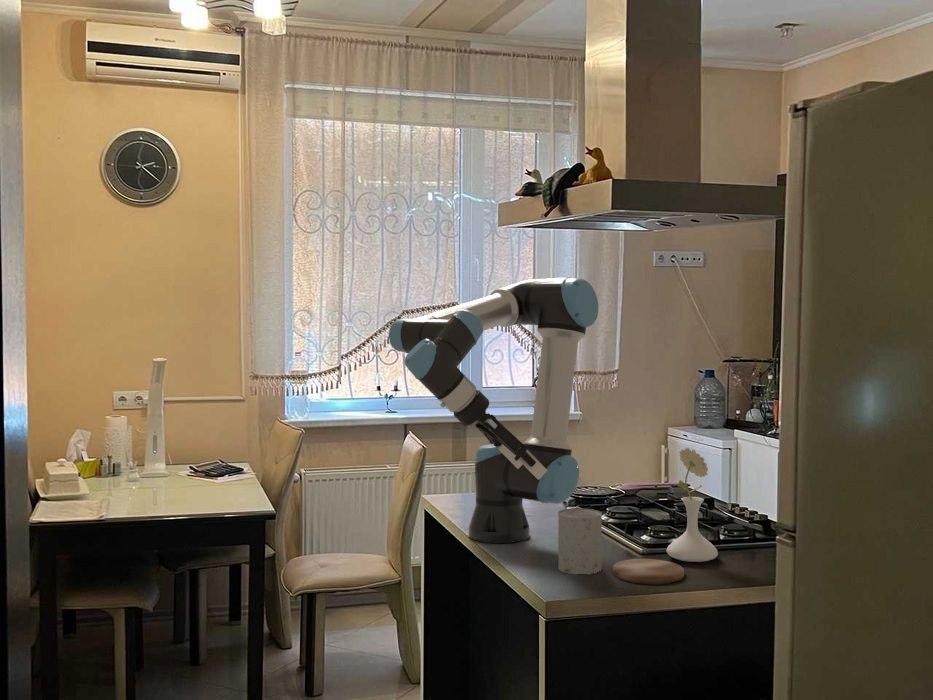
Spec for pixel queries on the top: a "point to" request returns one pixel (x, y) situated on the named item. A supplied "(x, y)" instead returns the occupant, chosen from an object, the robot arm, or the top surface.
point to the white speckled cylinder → (579, 541)
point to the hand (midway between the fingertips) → (532, 469)
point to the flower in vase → (692, 517)
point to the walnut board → (648, 571)
